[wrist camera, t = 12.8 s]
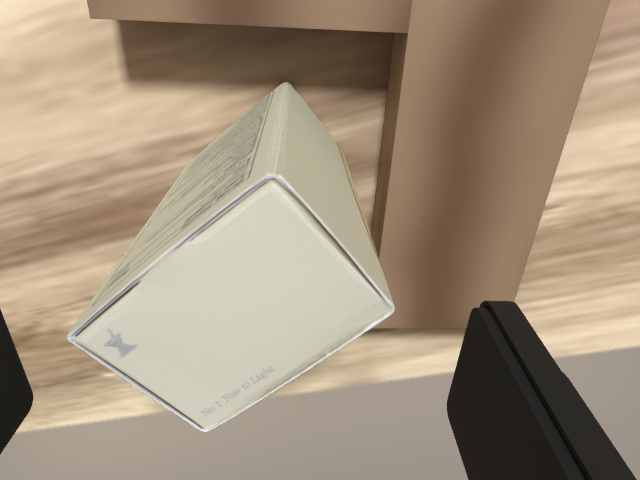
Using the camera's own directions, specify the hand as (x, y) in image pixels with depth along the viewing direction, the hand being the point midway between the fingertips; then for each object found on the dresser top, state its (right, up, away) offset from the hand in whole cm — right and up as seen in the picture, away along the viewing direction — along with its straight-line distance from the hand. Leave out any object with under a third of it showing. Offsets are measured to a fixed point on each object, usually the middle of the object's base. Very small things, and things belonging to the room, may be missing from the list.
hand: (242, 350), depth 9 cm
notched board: (+2, +6, +11) cm, 13 cm away
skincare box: (-1, +6, +11) cm, 13 cm away
